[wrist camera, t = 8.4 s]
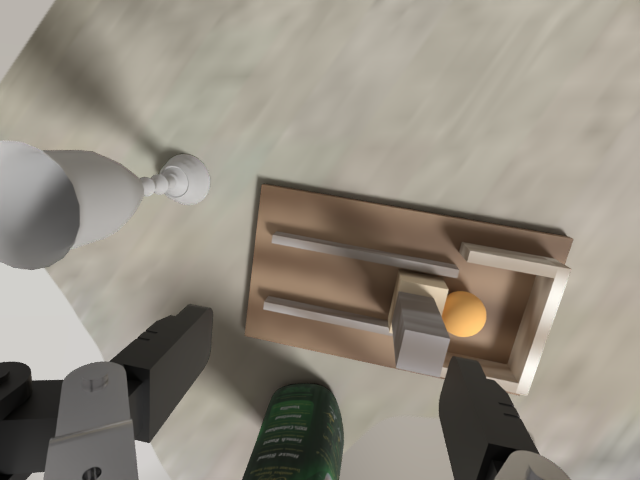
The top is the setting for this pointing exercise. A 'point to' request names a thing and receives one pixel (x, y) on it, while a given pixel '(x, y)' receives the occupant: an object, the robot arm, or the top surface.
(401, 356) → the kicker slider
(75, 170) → the chalice
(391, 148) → the top surface
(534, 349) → the board
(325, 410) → the coffee jar
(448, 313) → the ball
